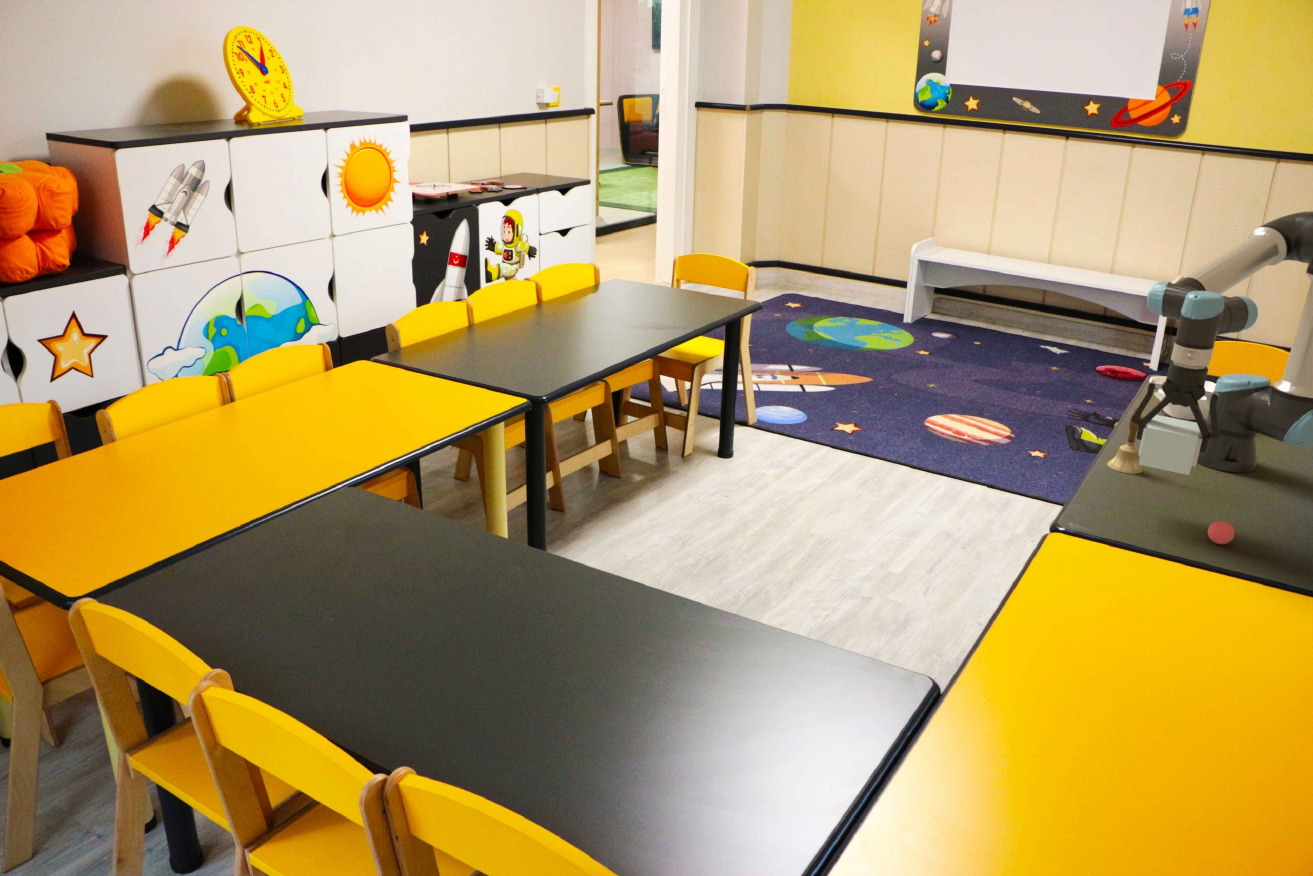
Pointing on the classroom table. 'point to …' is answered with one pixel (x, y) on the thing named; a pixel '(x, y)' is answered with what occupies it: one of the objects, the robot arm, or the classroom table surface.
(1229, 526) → the ball
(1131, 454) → the hand bell
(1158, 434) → the rounded gray box
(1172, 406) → the bowl
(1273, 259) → the robot arm
